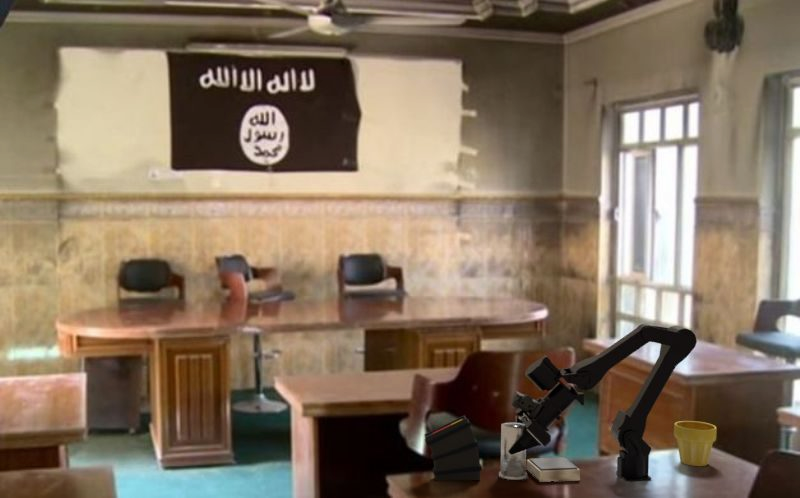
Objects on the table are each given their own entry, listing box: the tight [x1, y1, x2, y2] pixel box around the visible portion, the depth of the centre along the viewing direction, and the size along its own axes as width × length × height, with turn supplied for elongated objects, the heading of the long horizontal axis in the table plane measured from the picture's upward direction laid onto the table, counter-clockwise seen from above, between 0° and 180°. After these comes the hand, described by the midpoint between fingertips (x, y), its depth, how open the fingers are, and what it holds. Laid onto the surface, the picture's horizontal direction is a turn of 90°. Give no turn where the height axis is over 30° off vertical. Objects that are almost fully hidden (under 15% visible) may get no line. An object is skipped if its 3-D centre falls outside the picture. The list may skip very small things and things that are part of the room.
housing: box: [498, 422, 528, 481], centre depth 218 cm, size 7×7×12 cm
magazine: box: [424, 415, 483, 482], centre depth 216 cm, size 4×13×15 cm, turn 94°
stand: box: [526, 456, 581, 483], centre depth 220 cm, size 10×10×3 cm
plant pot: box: [673, 420, 718, 467], centre depth 232 cm, size 10×10×10 cm
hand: (507, 449), depth 218 cm, fingers closed on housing, 6 cm apart
